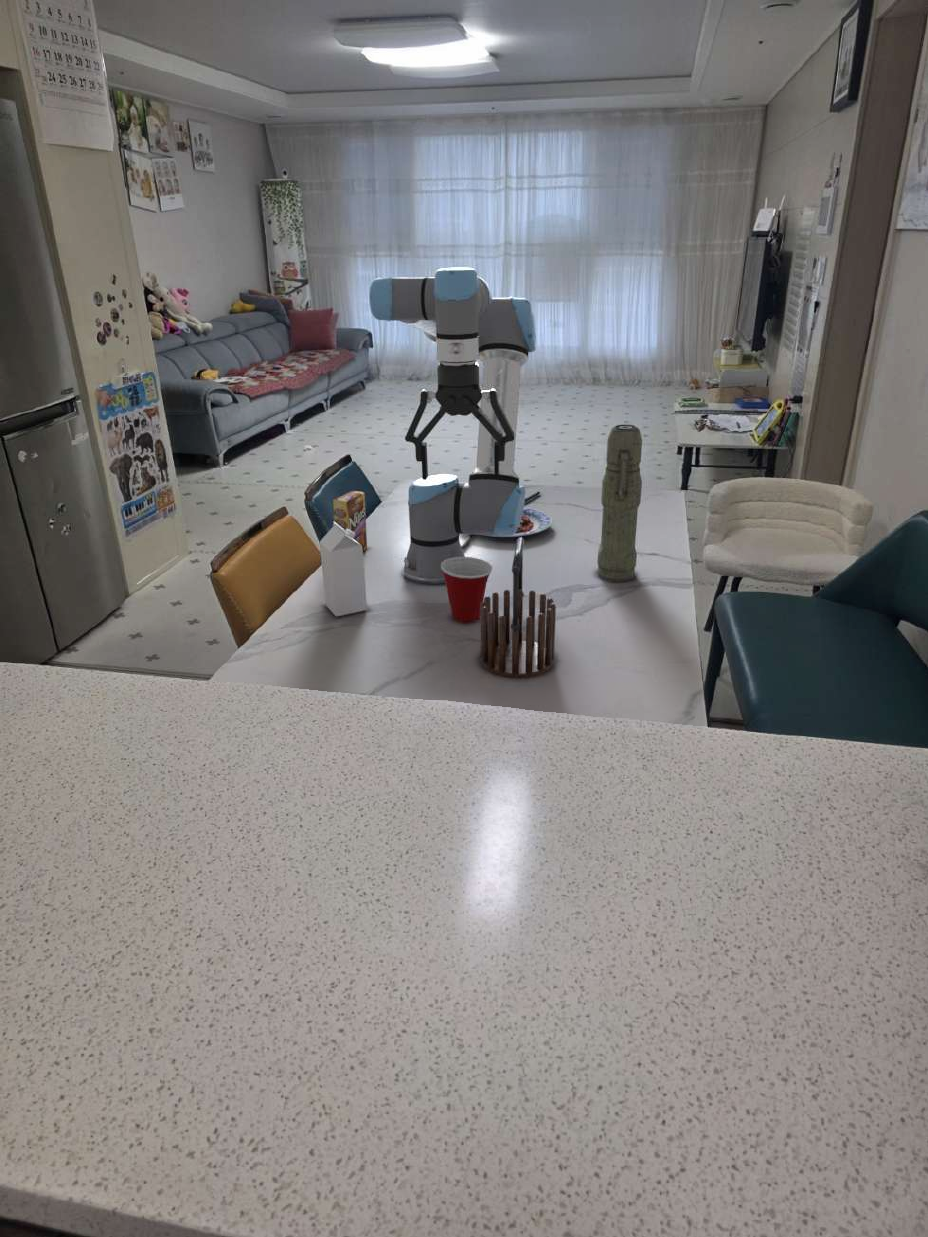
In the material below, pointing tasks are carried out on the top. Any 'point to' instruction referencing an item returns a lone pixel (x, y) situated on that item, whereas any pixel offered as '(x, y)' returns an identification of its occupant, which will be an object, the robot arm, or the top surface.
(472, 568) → the plastic cup
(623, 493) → the thermos
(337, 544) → the milk carton
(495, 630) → the basket
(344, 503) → the candy box
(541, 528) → the ceramic plate
